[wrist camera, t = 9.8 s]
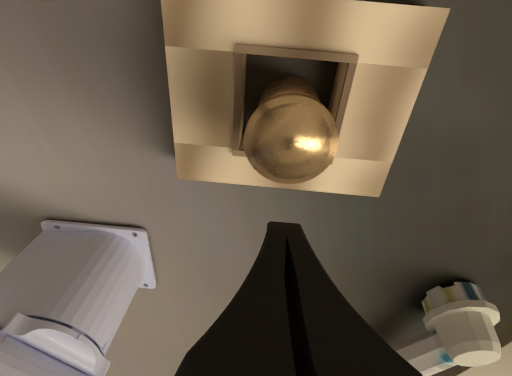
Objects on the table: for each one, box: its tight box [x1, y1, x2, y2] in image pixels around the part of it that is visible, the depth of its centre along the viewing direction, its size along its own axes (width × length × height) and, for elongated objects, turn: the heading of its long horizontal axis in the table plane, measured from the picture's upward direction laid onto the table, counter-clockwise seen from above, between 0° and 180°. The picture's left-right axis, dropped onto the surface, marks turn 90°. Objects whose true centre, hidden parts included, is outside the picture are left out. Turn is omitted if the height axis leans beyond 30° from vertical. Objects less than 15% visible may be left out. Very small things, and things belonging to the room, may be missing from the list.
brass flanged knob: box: [244, 76, 338, 184], centre depth 16 cm, size 5×5×6 cm
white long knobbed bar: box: [392, 282, 501, 376], centre depth 31 cm, size 5×7×25 cm
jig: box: [161, 0, 450, 197], centre depth 17 cm, size 14×11×3 cm
